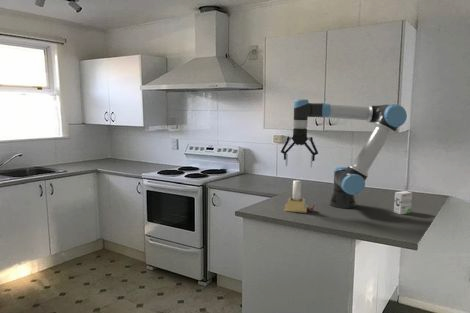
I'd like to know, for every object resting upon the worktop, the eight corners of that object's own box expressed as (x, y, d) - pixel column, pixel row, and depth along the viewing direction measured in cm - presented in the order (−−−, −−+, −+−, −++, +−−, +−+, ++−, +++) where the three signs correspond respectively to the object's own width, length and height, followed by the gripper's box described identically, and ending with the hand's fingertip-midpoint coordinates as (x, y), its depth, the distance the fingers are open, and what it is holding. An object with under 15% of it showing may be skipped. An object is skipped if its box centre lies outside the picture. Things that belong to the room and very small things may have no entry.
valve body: (313, 209, 211) (314, 199, 210) (313, 213, 202) (313, 203, 201) (286, 207, 214) (286, 197, 214) (284, 211, 206) (284, 200, 205)
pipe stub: (300, 205, 210) (301, 180, 208) (299, 207, 206) (300, 182, 204) (292, 204, 211) (293, 180, 209) (291, 206, 207) (292, 181, 205)
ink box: (403, 210, 213) (405, 190, 211) (411, 212, 209) (412, 192, 207) (393, 212, 209) (394, 191, 208) (400, 214, 205) (402, 193, 203)
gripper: (323, 128, 204) (321, 166, 207) (278, 126, 210) (277, 164, 212) (323, 128, 197) (321, 168, 200) (276, 127, 202) (275, 166, 205)
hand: (298, 166), depth 206 cm, fingers open, 13 cm apart
